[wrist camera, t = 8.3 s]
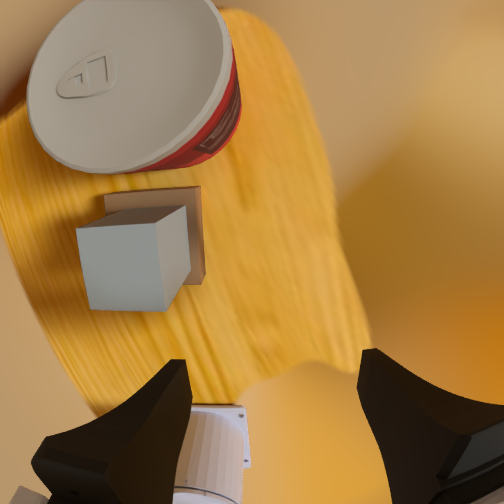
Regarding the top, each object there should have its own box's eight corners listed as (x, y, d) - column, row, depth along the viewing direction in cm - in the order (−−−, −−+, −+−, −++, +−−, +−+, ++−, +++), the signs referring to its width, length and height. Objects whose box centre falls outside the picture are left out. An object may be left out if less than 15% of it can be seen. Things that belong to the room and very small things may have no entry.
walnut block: (206, 271, 22) (201, 284, 20) (127, 272, 22) (114, 284, 20) (201, 185, 21) (195, 188, 18) (118, 191, 21) (103, 195, 18)
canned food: (109, 96, 18) (8, 58, 8) (212, 40, 18) (178, -55, 7) (154, 190, 20) (65, 218, 10) (262, 135, 19) (273, 101, 9)
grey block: (191, 269, 20) (166, 311, 14) (131, 270, 20) (90, 309, 14) (185, 205, 18) (155, 223, 13) (124, 209, 19) (75, 228, 13)
